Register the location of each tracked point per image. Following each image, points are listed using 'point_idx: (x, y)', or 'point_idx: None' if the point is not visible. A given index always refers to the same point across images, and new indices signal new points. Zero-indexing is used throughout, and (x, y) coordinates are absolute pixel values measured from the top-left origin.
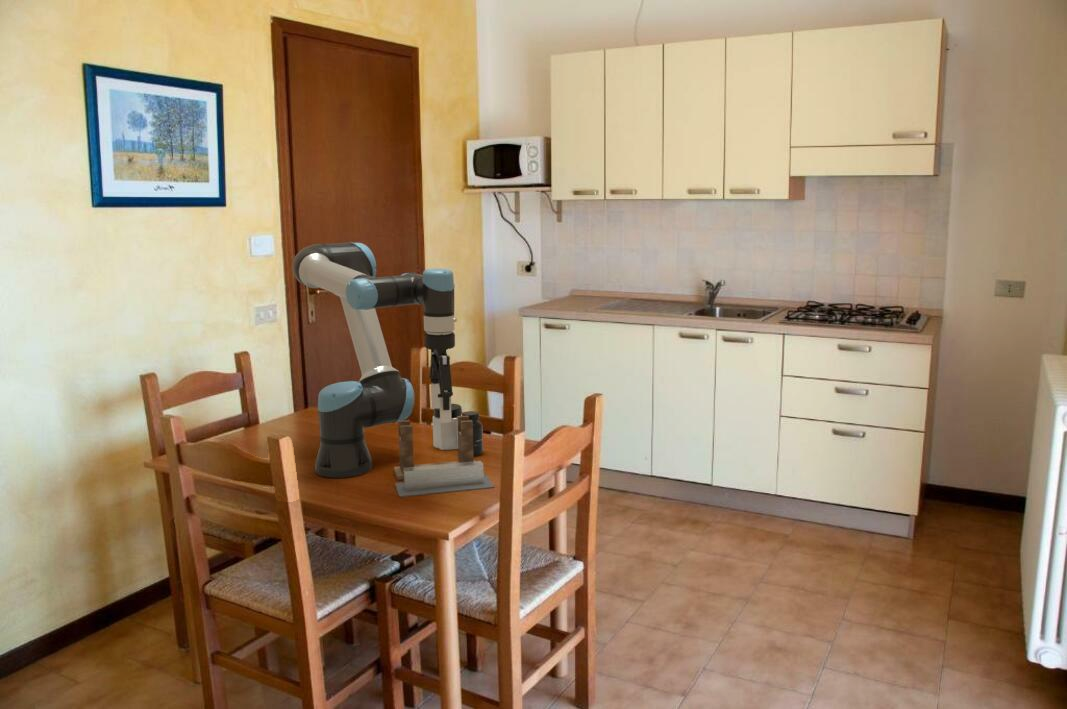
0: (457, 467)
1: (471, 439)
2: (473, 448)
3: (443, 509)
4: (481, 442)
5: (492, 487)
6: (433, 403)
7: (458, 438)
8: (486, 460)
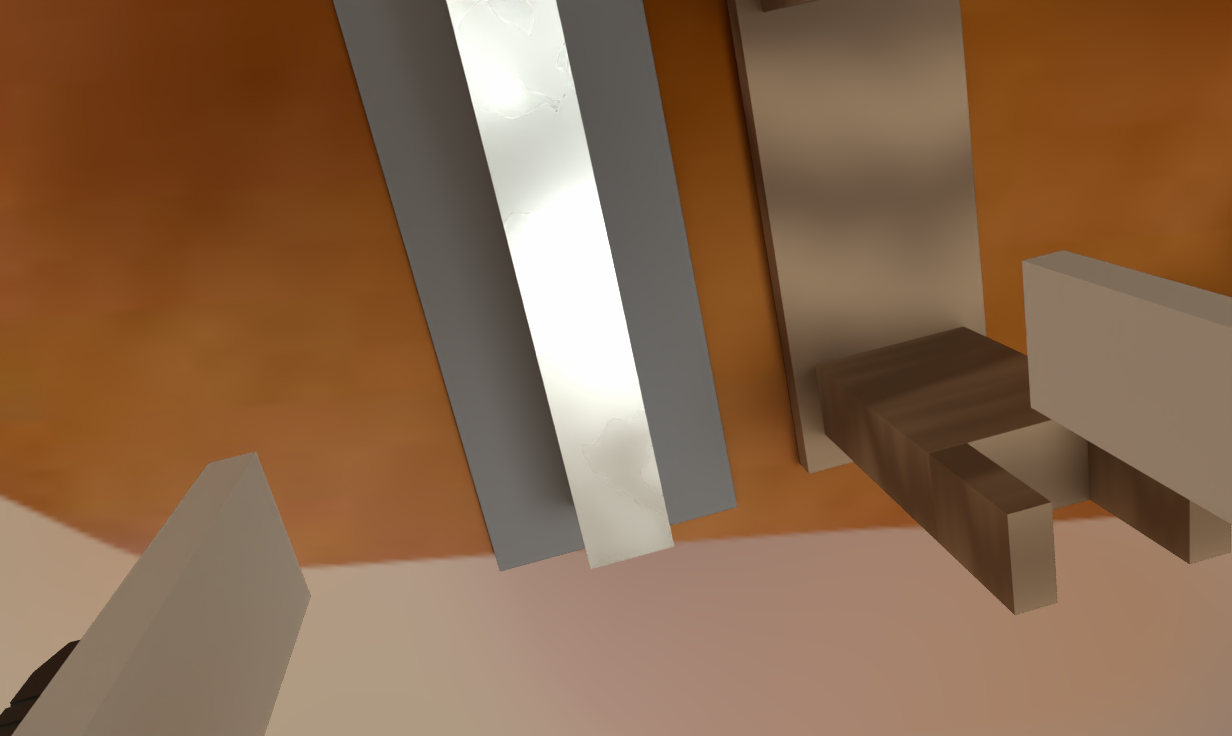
0: (546, 388)
1: (920, 515)
2: None
3: (74, 282)
4: None
5: (497, 559)
6: (1074, 301)
7: None
8: None
